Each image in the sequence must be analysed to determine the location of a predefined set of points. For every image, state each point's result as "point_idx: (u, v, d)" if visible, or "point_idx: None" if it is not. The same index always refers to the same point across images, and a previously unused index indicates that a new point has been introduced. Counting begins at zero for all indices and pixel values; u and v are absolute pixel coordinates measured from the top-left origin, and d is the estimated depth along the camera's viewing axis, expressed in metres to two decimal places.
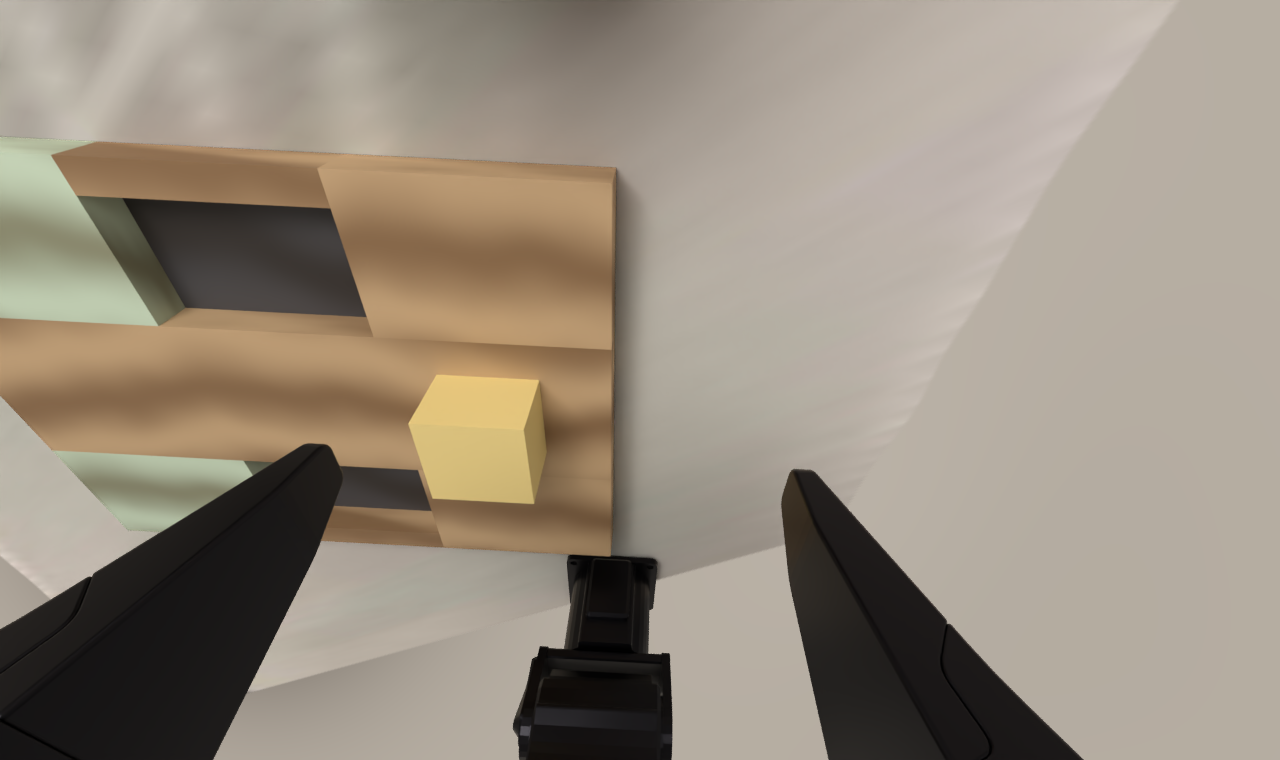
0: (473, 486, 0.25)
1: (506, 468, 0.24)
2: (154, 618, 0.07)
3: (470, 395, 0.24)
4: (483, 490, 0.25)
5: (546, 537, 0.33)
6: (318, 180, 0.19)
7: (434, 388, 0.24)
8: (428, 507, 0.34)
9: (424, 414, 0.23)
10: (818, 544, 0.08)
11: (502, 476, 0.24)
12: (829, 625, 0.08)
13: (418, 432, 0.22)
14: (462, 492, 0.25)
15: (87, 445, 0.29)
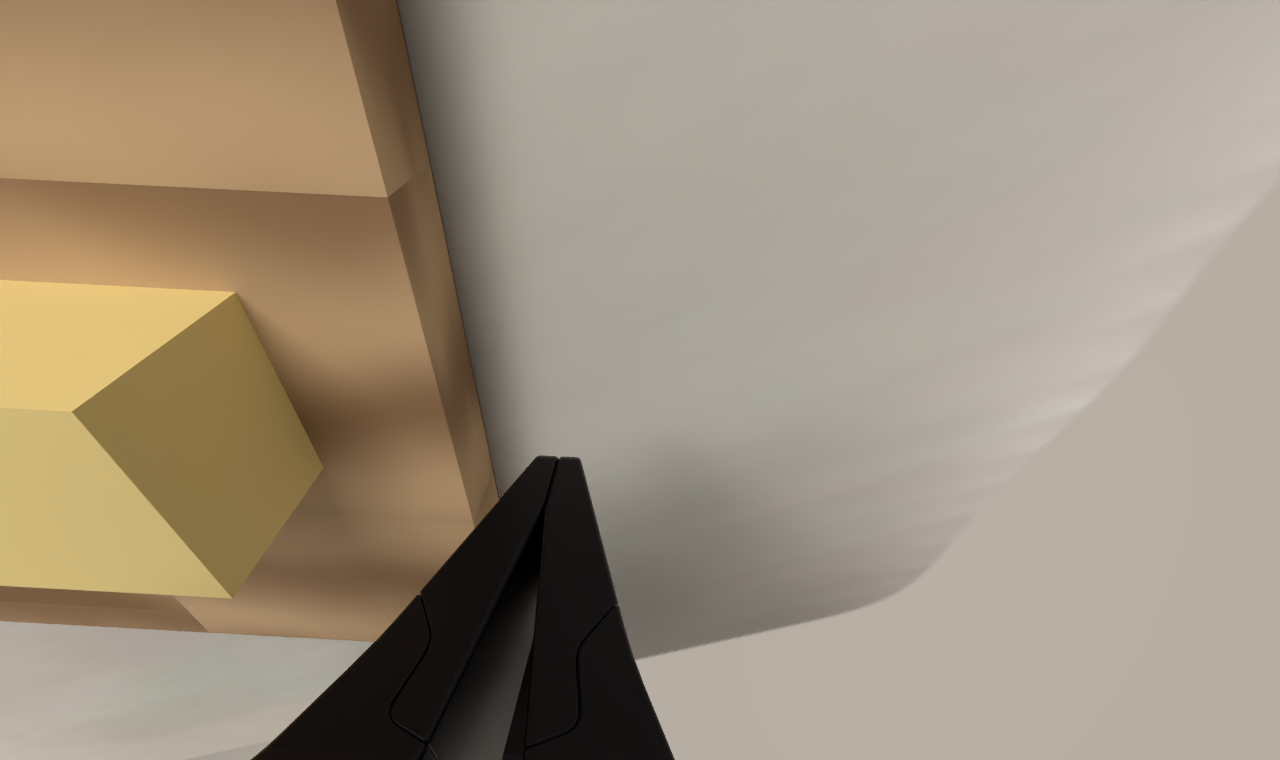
0: (58, 560, 0.10)
1: (105, 517, 0.09)
2: (490, 637, 0.07)
3: (13, 322, 0.09)
4: (90, 568, 0.10)
5: (383, 619, 0.18)
6: None
7: None
8: None
9: None
10: None
11: (109, 537, 0.09)
12: None
13: None
14: (44, 572, 0.10)
15: None
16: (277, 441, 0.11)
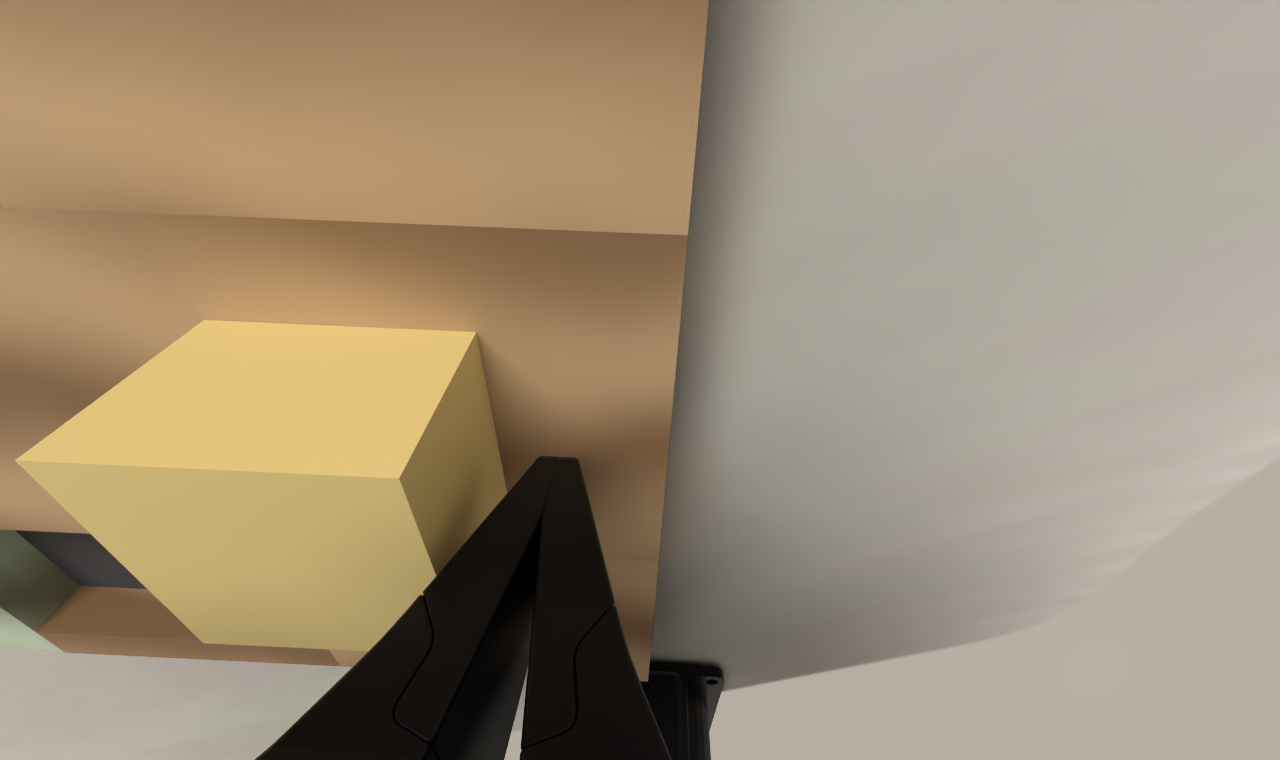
0: (298, 620, 0.09)
1: (374, 580, 0.08)
2: (493, 637, 0.07)
3: (270, 371, 0.08)
4: (328, 629, 0.09)
5: None
6: None
7: (176, 353, 0.09)
8: None
9: (94, 428, 0.07)
10: None
11: (366, 599, 0.09)
12: None
13: (64, 487, 0.07)
14: (274, 632, 0.09)
15: None
16: (490, 484, 0.11)
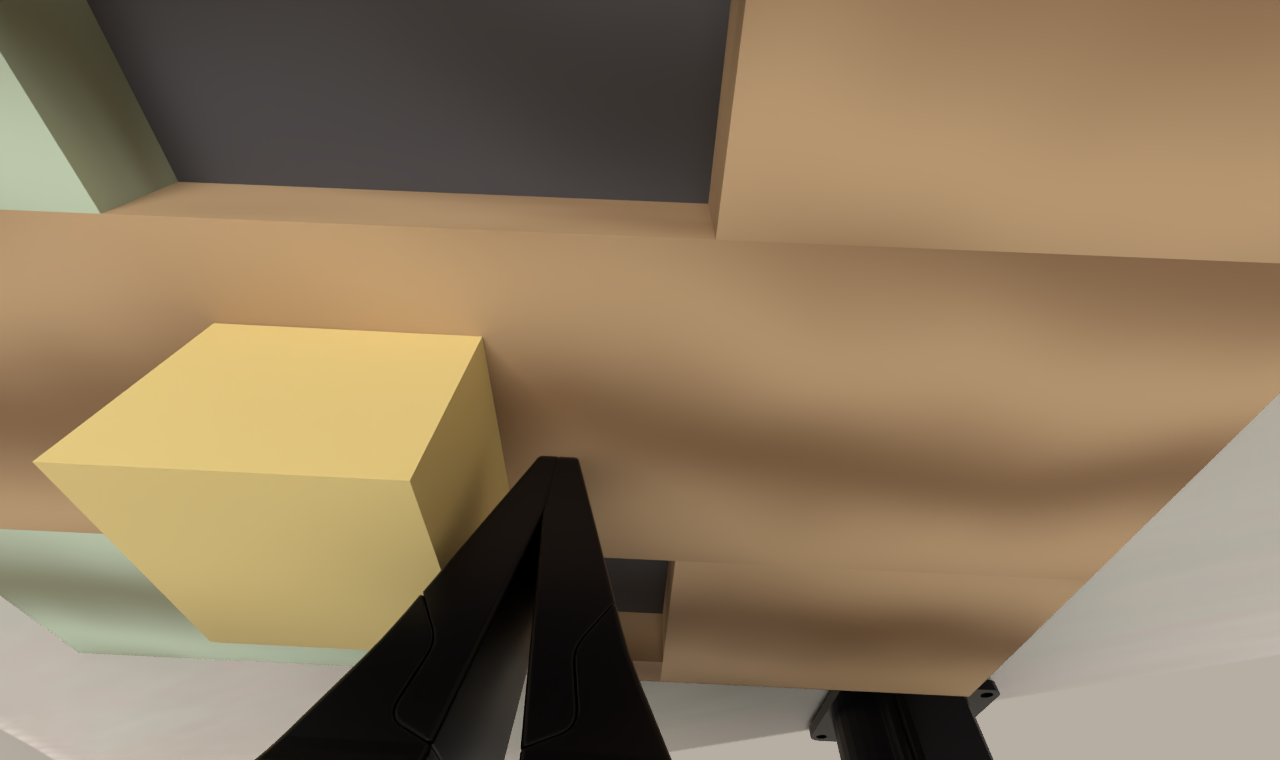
0: (305, 619, 0.09)
1: (381, 580, 0.08)
2: (493, 637, 0.07)
3: (280, 374, 0.08)
4: (335, 627, 0.09)
5: (869, 668, 0.17)
6: None
7: (187, 356, 0.09)
8: (629, 606, 0.19)
9: (108, 430, 0.07)
10: None
11: (373, 598, 0.09)
12: None
13: (80, 488, 0.07)
14: (281, 631, 0.10)
15: None
16: (494, 486, 0.11)
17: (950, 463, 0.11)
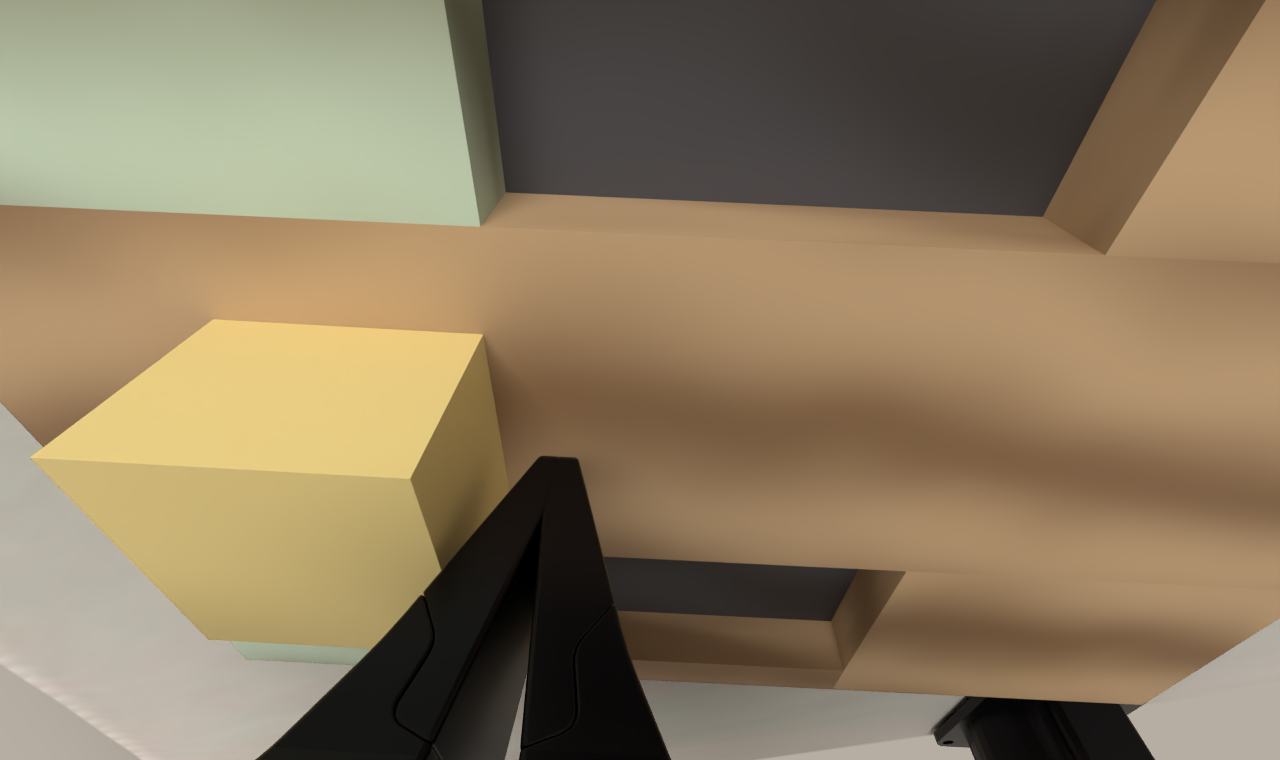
0: (304, 617, 0.09)
1: (380, 579, 0.08)
2: (494, 637, 0.07)
3: (280, 371, 0.08)
4: (333, 625, 0.09)
5: (1053, 677, 0.17)
6: None
7: (186, 352, 0.09)
8: (799, 614, 0.19)
9: (107, 426, 0.07)
10: None
11: (372, 597, 0.09)
12: None
13: (77, 484, 0.07)
14: (279, 629, 0.09)
15: None
16: (494, 484, 0.11)
17: (1237, 477, 0.11)
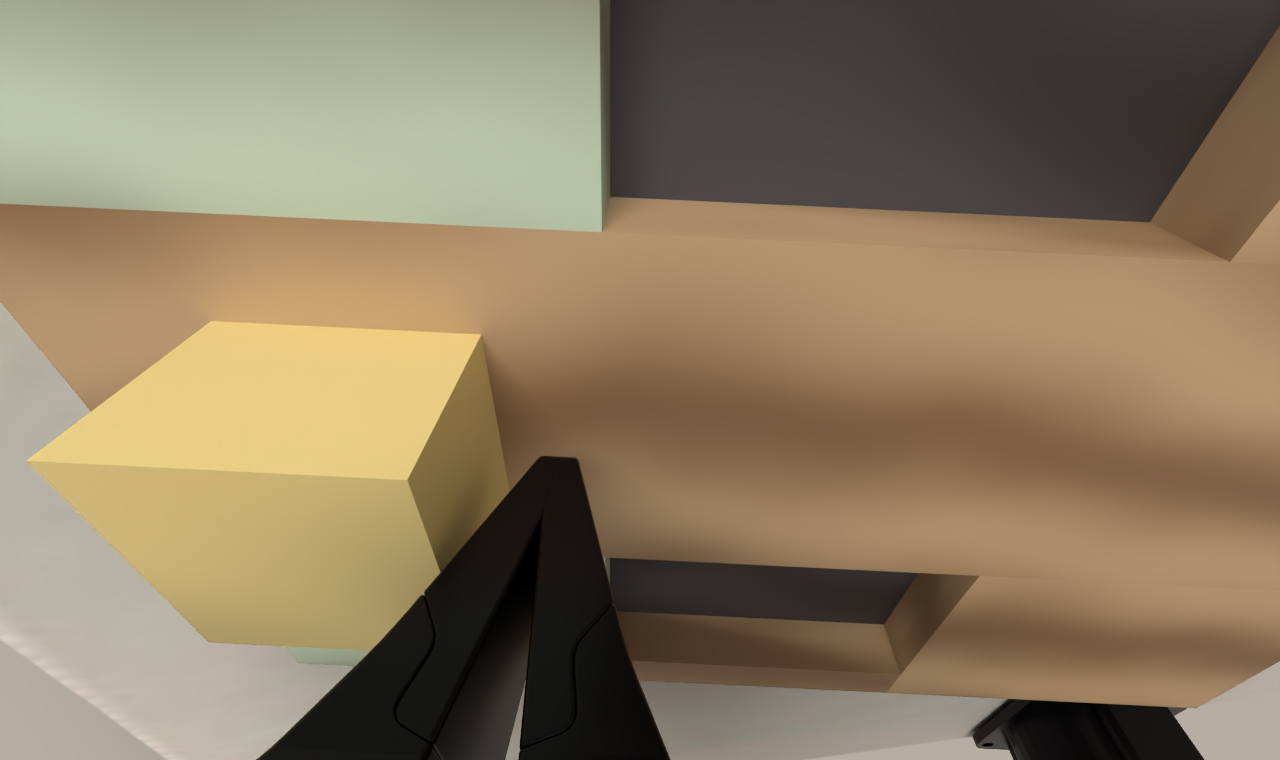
0: (303, 619, 0.09)
1: (379, 580, 0.08)
2: (494, 637, 0.07)
3: (278, 372, 0.08)
4: (333, 627, 0.09)
5: (1111, 681, 0.17)
6: None
7: (184, 354, 0.09)
8: (852, 617, 0.18)
9: (104, 429, 0.07)
10: None
11: (372, 599, 0.09)
12: None
13: (74, 487, 0.07)
14: (279, 631, 0.09)
15: None
16: (494, 485, 0.11)
17: None
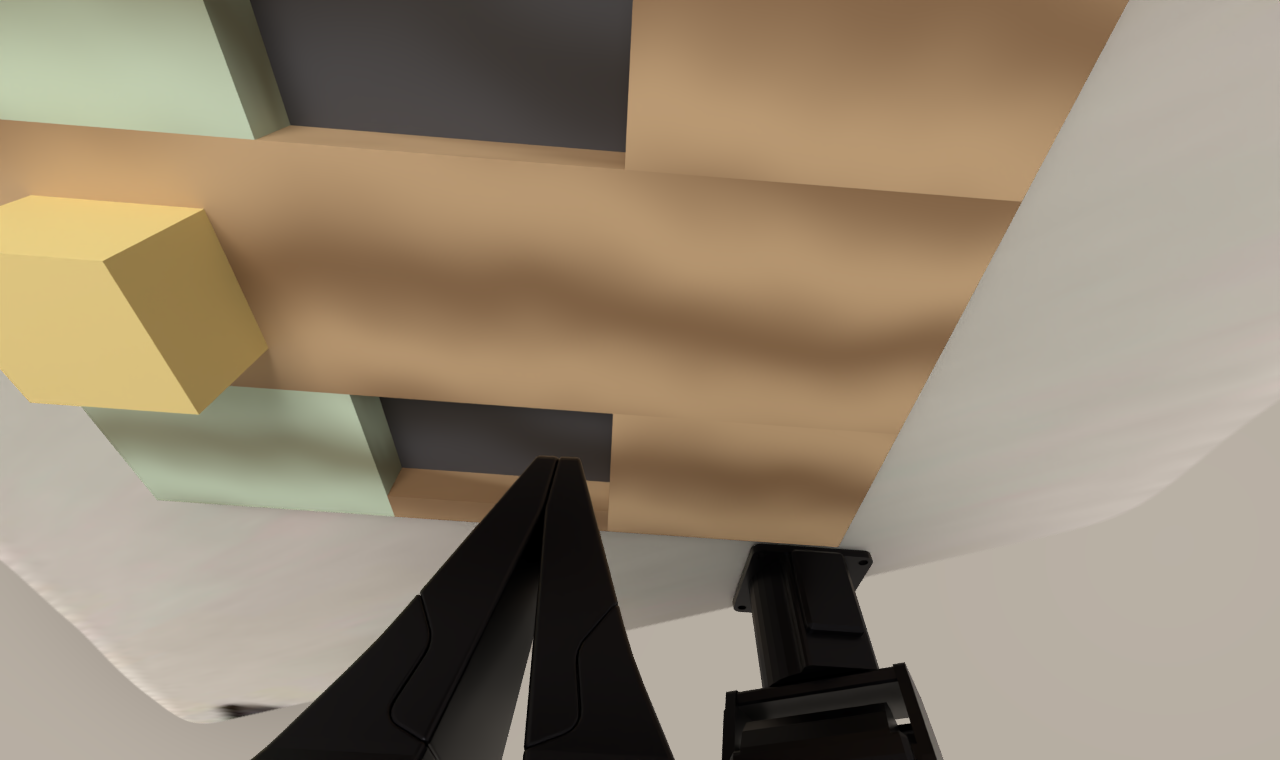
0: (82, 380, 0.15)
1: (117, 343, 0.14)
2: (490, 637, 0.07)
3: (58, 219, 0.14)
4: (103, 387, 0.15)
5: (760, 518, 0.23)
6: None
7: (4, 208, 0.14)
8: (585, 475, 0.24)
9: None
10: None
11: (118, 360, 0.14)
12: None
13: None
14: (71, 391, 0.15)
15: None
16: (232, 318, 0.16)
17: (788, 334, 0.17)
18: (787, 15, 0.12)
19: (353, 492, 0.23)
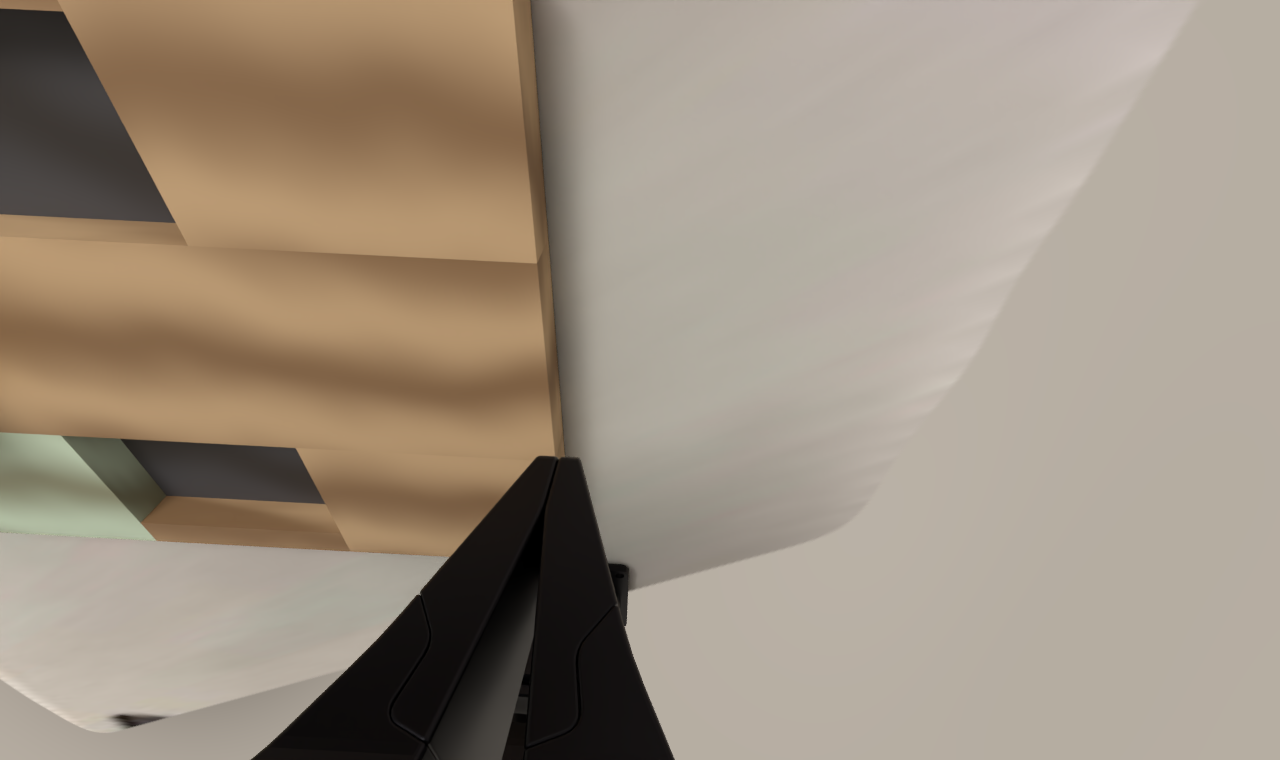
0: None
1: None
2: (490, 637, 0.07)
3: None
4: None
5: None
6: None
7: None
8: None
9: None
10: None
11: None
12: None
13: None
14: None
15: None
16: None
17: (406, 377, 0.19)
18: (250, 122, 0.14)
19: (109, 520, 0.25)
